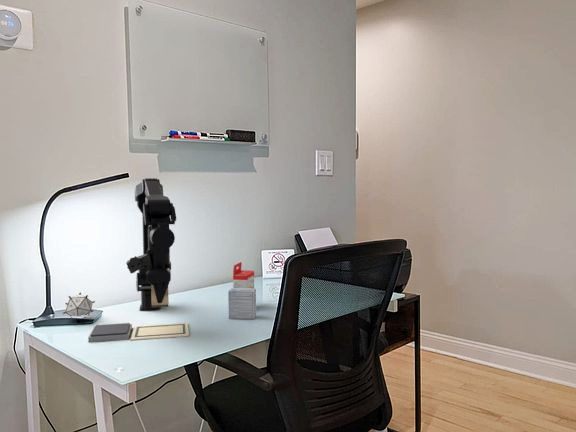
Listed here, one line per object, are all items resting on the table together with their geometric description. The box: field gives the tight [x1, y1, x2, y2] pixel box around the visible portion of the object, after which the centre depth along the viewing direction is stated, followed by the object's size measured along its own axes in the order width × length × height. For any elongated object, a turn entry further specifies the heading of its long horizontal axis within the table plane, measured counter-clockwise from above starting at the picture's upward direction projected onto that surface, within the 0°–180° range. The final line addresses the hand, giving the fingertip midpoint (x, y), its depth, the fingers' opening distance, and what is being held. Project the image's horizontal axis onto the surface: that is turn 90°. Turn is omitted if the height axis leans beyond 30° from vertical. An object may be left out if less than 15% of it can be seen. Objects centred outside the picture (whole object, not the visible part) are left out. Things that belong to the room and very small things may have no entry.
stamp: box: [151, 284, 170, 308], centre depth 136 cm, size 4×4×6 cm
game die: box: [62, 292, 96, 317], centre depth 147 cm, size 9×8×10 cm
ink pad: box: [87, 322, 133, 343], centre depth 133 cm, size 10×10×2 cm
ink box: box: [232, 261, 255, 288], centre depth 161 cm, size 8×5×15 cm, turn 168°
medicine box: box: [227, 287, 257, 320], centre depth 150 cm, size 8×4×9 cm, turn 84°
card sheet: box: [129, 322, 190, 341], centre depth 136 cm, size 12×15×1 cm
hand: (160, 300), depth 136 cm, fingers closed on stamp, 4 cm apart
